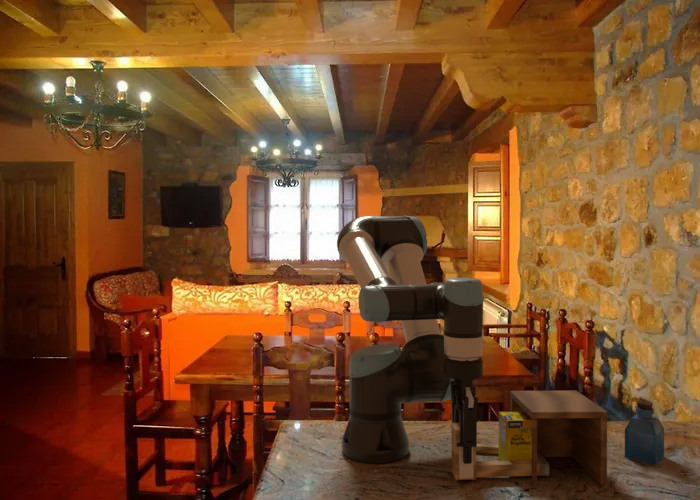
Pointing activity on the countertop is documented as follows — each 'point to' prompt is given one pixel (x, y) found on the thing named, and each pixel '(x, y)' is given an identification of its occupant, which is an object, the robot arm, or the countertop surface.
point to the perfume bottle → (644, 435)
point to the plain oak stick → (487, 448)
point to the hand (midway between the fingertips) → (463, 472)
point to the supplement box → (515, 436)
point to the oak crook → (495, 463)
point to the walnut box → (565, 428)
